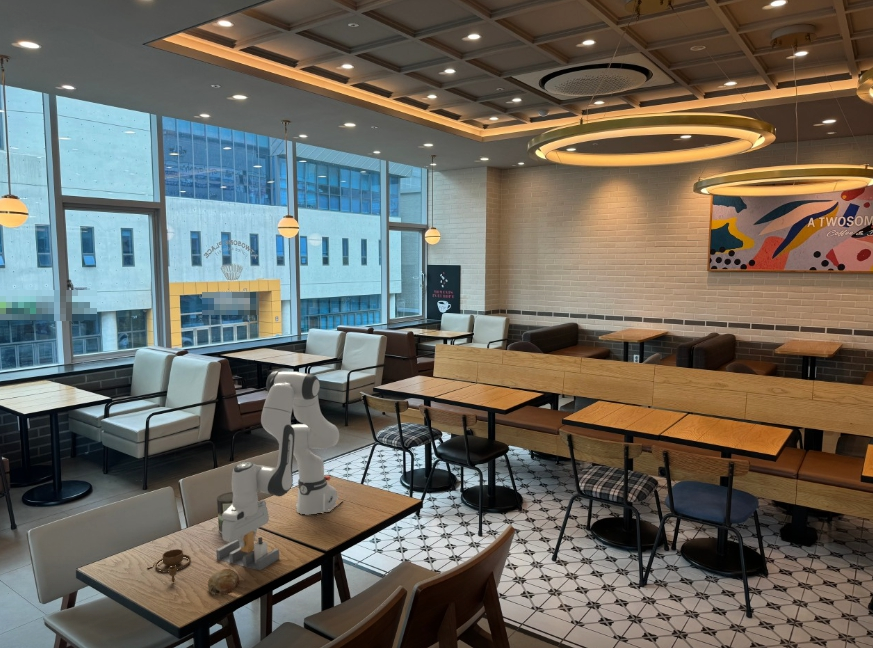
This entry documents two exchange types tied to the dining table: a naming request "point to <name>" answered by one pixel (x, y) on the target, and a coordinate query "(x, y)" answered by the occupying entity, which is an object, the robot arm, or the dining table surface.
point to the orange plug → (248, 542)
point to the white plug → (260, 549)
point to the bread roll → (223, 581)
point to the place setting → (173, 561)
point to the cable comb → (245, 556)
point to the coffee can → (223, 506)
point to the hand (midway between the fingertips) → (247, 544)
